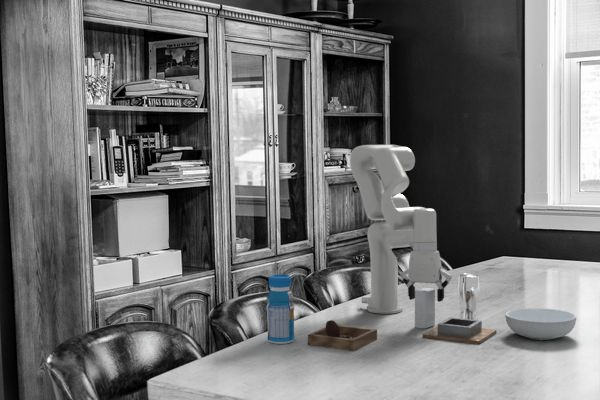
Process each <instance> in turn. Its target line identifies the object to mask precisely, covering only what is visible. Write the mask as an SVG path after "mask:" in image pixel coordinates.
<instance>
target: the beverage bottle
mask: <svg viewBox="0 0 600 400" xmlns="http://www.w3.org/2000/svg"><path fill="white" fill-rule="evenodd" d="M268 287H269V288H270V290H269V291H268V293H267V296H266V301H267V304H266V313H267V314H266V315H267V316H266V317H267V318H266V319H267V321H266V322H267V323H266V324H267V341H268V342H269V343H270V344H273V345H286V344H290V343H293V342H294V340H295V304H294V302H293V301H294V299H295V297H294V294H293V292H292V290H291V289H290V288H291V287H292V276H291V275H289V274H280V273H279V274H272V275H269V276H268Z"/></svg>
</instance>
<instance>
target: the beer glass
mask: <svg viewBox="0 0 600 400" xmlns="http://www.w3.org/2000/svg"><path fill="white" fill-rule="evenodd" d="M479 277H480V276H479V274H477V273H460V274H458V281H457V282H458V283H457V285H458V286H457V293H458V299H459V305H460V311H459V312H460V313H459V314H460V315H459V318H460V319H470V320H479V316H478V309H477V308H478V302H479V295H480V278H479Z"/></svg>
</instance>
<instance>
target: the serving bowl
mask: <svg viewBox="0 0 600 400" xmlns="http://www.w3.org/2000/svg"><path fill="white" fill-rule="evenodd" d="M504 317H505V321H506V324H507V326H508V327H509V328H510V330H511V331H512V332H514V333H515V334H517V335H520V336H522V337H525V338H528V339H531V340H537V341H538V340H539V341H541V340H542V341H547V340H548V341H549V340H553V339H557V338H561V337H564V336H566V335H569V333H571V332H572V330H573V329H574V328H575V326H576V322H577V315H576V314H575V313H573V312H570V311H565V310H561V309H553V308H552V309H551V308H543V307H541V308H538V307H536V308H535V307H534V308H533V307H532V308H531V307H530V308H528V307H527V308H517V309H512V310H508V311H507V312H505V316H504Z"/></svg>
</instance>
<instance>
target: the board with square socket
mask: <svg viewBox="0 0 600 400" xmlns="http://www.w3.org/2000/svg"><path fill="white" fill-rule="evenodd" d="M482 326H483V325H482V320H480V319H478V320H470V319H460V317H459V318H458V317H452V316H451V317H448V318H447V319H444V320H443V321H441V322H438V323H437V325H436V326H435V327H433V328H431V329H429V330H428V331H426V332H424V333H422V338H424V339H425V338H426V339H430V340H431V339H433V340H442V341H449V342H457V343H466V344H473V345H474V344H475V345H481V344H482V343H484V342H485V341H487V340H488V339H489V338H491V337H493V336H494V335H495V334H497V329H492V328H484V327H482Z"/></svg>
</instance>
